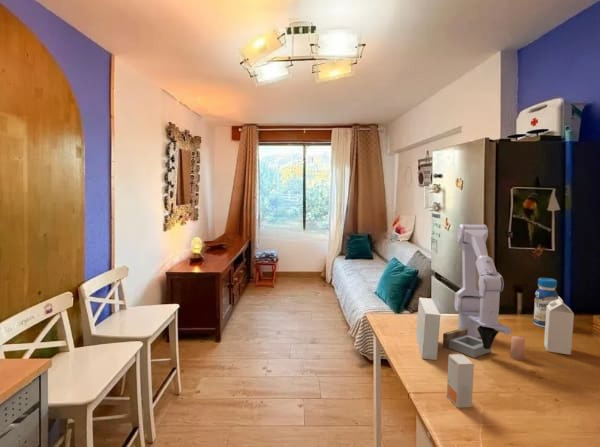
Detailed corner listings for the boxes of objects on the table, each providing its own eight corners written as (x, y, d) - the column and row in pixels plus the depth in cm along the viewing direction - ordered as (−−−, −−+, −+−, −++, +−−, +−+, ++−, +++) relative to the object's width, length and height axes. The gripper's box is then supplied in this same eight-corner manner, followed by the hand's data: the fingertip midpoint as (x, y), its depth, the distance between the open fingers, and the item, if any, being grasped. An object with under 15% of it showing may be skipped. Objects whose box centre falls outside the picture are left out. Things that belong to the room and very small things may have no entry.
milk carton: (566, 348, 139) (570, 297, 138) (571, 355, 133) (574, 302, 131) (543, 344, 142) (547, 294, 141) (547, 351, 136) (550, 299, 134)
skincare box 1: (438, 361, 127) (440, 314, 126) (421, 359, 128) (423, 313, 127) (430, 337, 148) (432, 297, 147) (415, 336, 149) (417, 296, 148)
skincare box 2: (445, 395, 105) (447, 354, 104) (460, 395, 106) (462, 353, 105) (456, 408, 99) (458, 364, 98) (472, 407, 100) (474, 363, 99)
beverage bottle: (556, 324, 165) (559, 278, 163) (556, 329, 158) (559, 282, 156) (533, 320, 169) (536, 276, 168) (532, 325, 162) (535, 279, 160)
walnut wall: (463, 340, 145) (464, 327, 145) (466, 341, 144) (467, 328, 144) (442, 346, 139) (443, 333, 139) (446, 348, 138) (446, 334, 137)
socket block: (466, 342, 143) (466, 334, 143) (491, 351, 135) (491, 343, 134) (448, 347, 138) (449, 339, 138) (473, 357, 129) (474, 349, 129)
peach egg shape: (514, 354, 133) (515, 335, 132) (526, 358, 130) (527, 338, 129) (507, 356, 131) (509, 337, 130) (519, 361, 128) (520, 341, 127)
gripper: (463, 305, 133) (461, 343, 135) (503, 317, 121) (500, 358, 122) (475, 302, 137) (473, 339, 138) (515, 314, 125) (513, 354, 126)
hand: (487, 348), depth 131 cm, fingers closed
